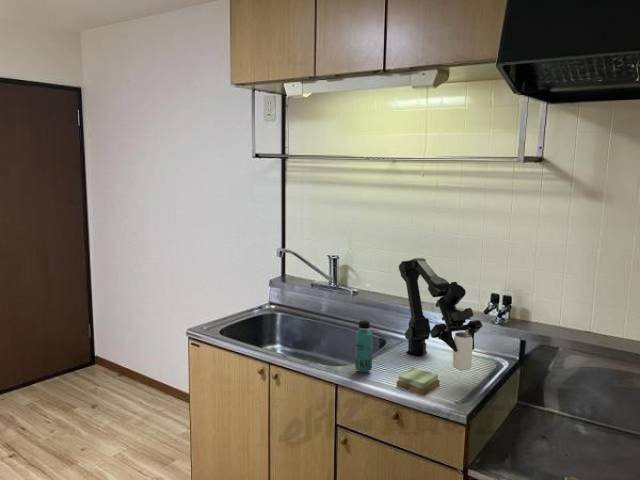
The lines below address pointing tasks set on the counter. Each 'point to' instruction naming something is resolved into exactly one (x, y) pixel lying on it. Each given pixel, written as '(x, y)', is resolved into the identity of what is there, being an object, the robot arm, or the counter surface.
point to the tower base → (418, 390)
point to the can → (463, 351)
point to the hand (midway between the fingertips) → (464, 350)
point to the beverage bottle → (363, 347)
